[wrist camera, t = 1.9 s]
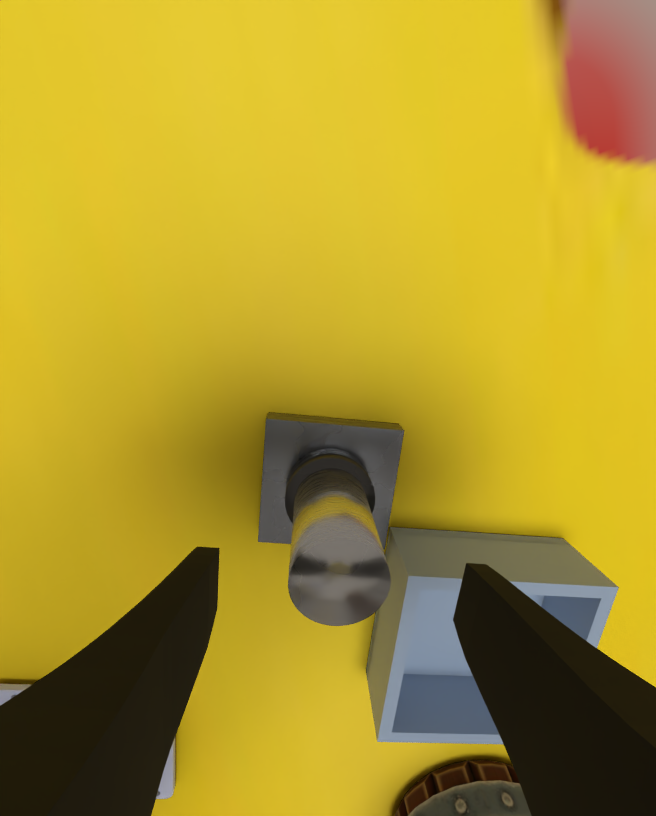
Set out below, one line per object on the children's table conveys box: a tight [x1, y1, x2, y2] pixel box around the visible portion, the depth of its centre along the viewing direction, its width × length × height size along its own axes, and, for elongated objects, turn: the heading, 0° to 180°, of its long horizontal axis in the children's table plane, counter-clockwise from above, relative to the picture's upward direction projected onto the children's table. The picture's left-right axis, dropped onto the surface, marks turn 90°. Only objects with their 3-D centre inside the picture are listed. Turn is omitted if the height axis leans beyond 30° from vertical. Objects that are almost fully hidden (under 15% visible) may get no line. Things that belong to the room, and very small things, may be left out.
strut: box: [285, 448, 391, 626], centre depth 13 cm, size 4×4×6 cm
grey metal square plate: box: [258, 412, 404, 549], centre depth 17 cm, size 6×6×1 cm
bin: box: [366, 527, 619, 744], centre depth 18 cm, size 9×9×4 cm
